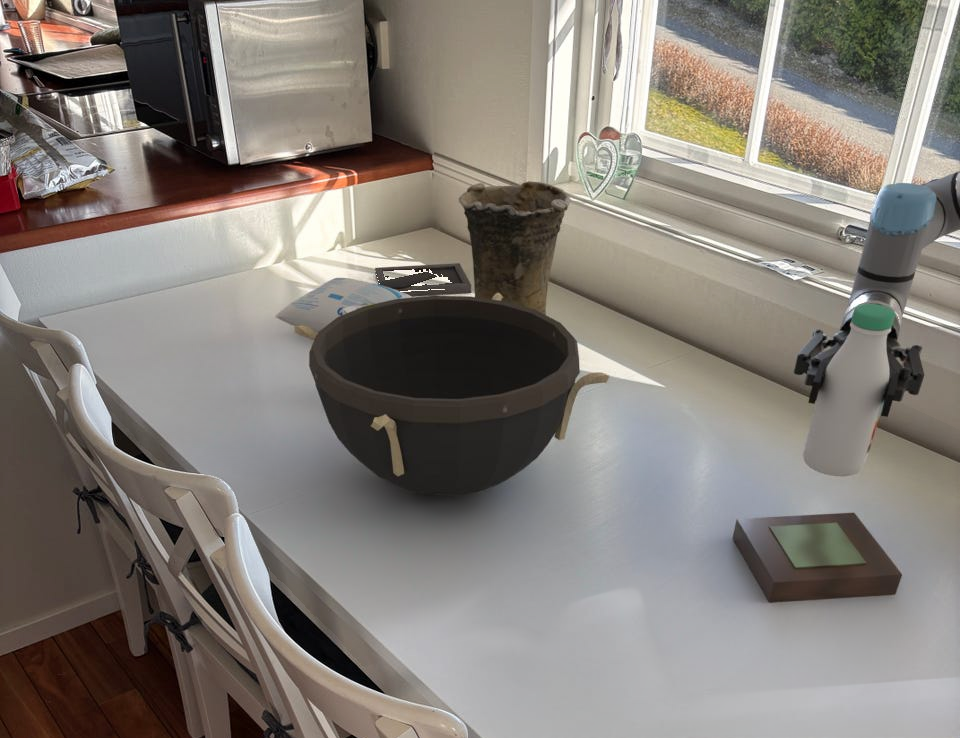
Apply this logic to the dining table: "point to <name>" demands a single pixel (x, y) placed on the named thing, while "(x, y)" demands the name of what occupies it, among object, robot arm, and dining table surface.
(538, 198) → the vase
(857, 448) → the milk bottle
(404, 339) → the bowl
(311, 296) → the pouch
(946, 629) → the dining table surface
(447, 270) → the picture frame
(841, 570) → the brown wooden platform
